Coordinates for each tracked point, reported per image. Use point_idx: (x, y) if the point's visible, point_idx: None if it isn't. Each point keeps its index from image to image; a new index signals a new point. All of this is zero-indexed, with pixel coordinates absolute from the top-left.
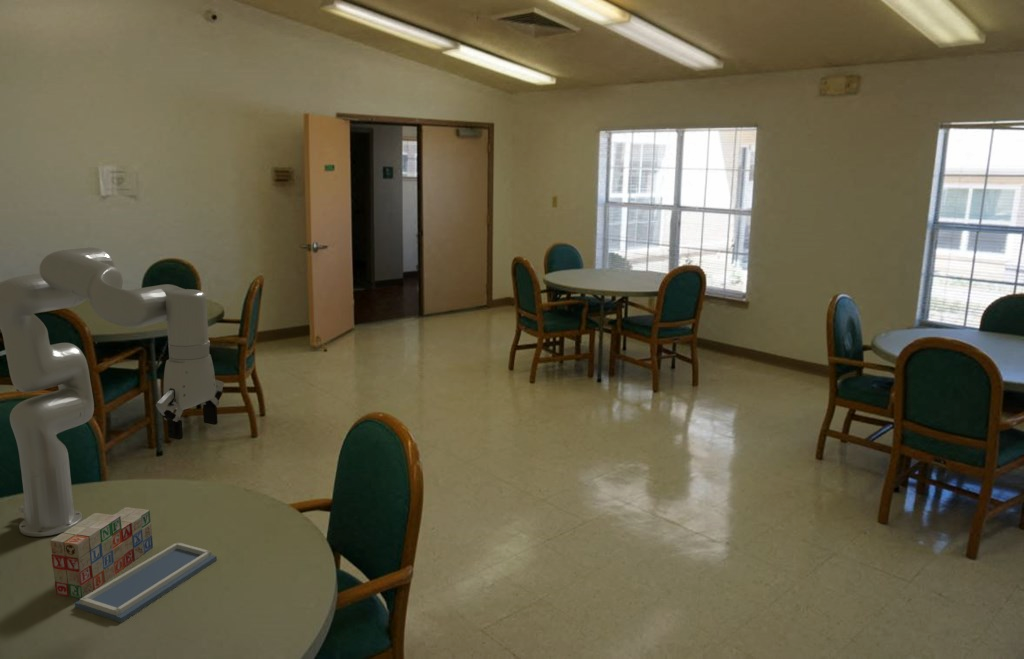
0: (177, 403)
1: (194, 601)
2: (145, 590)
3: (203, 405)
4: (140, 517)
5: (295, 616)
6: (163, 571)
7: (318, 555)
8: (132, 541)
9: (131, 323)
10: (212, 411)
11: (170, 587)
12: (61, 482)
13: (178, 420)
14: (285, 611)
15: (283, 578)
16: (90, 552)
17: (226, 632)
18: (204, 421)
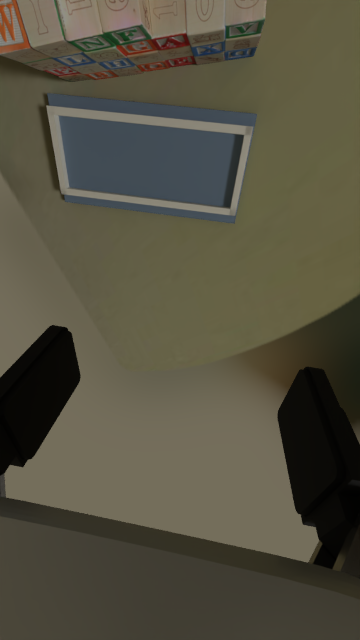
0: (59, 513)
1: (139, 255)
2: (111, 195)
3: (349, 476)
4: (221, 30)
5: (159, 353)
6: (171, 170)
7: (272, 334)
8: (191, 50)
9: None
10: (294, 481)
11: (144, 211)
12: None
13: (10, 458)
14: (162, 344)
15: (214, 320)
16: (55, 59)
17: (113, 313)
18: (302, 375)
